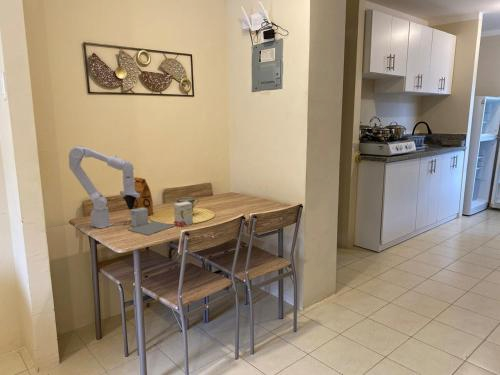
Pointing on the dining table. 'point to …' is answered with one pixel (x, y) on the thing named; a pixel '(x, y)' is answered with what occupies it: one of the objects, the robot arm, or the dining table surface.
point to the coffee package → (143, 195)
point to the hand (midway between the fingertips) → (130, 208)
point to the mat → (151, 228)
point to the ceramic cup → (188, 199)
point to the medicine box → (139, 217)
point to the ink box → (183, 214)
